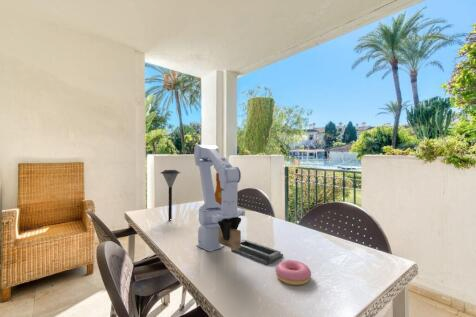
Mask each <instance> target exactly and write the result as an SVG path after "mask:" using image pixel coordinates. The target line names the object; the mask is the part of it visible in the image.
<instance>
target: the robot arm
mask: <svg viewBox="0 0 476 317" xmlns="http://www.w3.org/2000/svg"><path fill="white" fill-rule="evenodd" d="M193 152H194V153H193V156H194V162H195V165H196V166H197V167H198V169H199V174H200V181H201V189H202V197H203V204H202V205H201V206H200V207H199V209H198V221H199V225H200V226H199V227H198V231H197V243H196V246H197V247H199V248H201V249H204V250H206V251H208V252H212V251H215V250H218V249H221V248H224V247H225V245H222V244H220V243H218V231H219V226H220V228H221V231H222V234H223V239H224V240H227V241H228V240H229V234H230V228H233V229H237V230H238V228H239V226H240V223H241V222H242V218H241V216H242V217H245V216H246V210H244V209H238V186H239V184H238V183H240V181H241V179H242V173H241V170H240V169H239V167H238V166H233V165H232V164H231V163H230V162H229V160H227V158H226V157H225V156H221V154H220V151H219V147H218V145H216V144H215V145H212V144H211V145H210V144H209V145H207V144H196V145H195V146H194V151H193ZM212 166H213V168H214V170H215V171H216V173H217V172H218V174H219V180H220V187H221V188H222V205H220V204H219V203H217V202H216V200H215V188H214V182H213V177H212V176H213V175H212V169H211V167H212Z"/></svg>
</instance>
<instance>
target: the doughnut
mask: <svg viewBox="0 0 476 317" xmlns="http://www.w3.org/2000/svg"><path fill="white" fill-rule="evenodd" d="M275 273H276V276H277V278H278V279H279V280H280V281H281V282H283V283H285V284H287V285H292V286H301V285H305V284H307V283H308V282H309V281H310V279H311V276H312V272H311V269H310V267H309V266H308V265H307V264H305V263H303V262H301V261H298V260H291V259H290V260H289V259H288V260H283V261H280V262H278V264H276V268H275Z"/></svg>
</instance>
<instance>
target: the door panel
mask: <svg viewBox="0 0 476 317" xmlns="http://www.w3.org/2000/svg"><path fill="white" fill-rule="evenodd" d="M241 235H242V232H241V229H238V228H237V229H233V228H230V234H229V240H228V241H227V240H224V239H223V234H222V231H221V228H220V226H219V231H218V243H220V244H222V245H224V247H228V248H230V249H231V248H232V249H235V250H237V249H239V248H241V241H242V240H241V239H242V238H241V237H242V236H241Z"/></svg>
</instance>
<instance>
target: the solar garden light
mask: <svg viewBox="0 0 476 317" xmlns="http://www.w3.org/2000/svg"><path fill="white" fill-rule="evenodd" d="M160 174H162V175H163V178H164V180H165V182H166V184H167V186H168V221H171V220H170V219H172V218H173V214H172V213H173V211H172V210H173V185H174V184H175V181H176V179H177V177H178V175H179V174H181V172H180V171H178V170H176V169H165V170H163V171H161V172H160Z"/></svg>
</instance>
